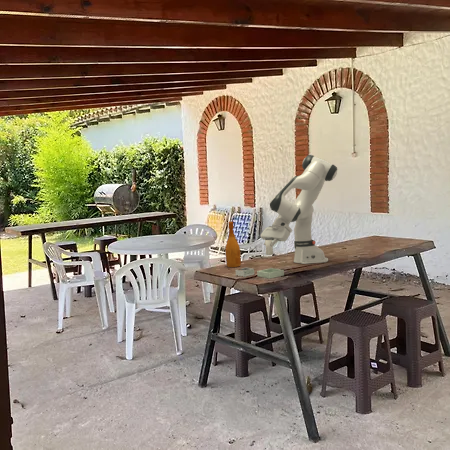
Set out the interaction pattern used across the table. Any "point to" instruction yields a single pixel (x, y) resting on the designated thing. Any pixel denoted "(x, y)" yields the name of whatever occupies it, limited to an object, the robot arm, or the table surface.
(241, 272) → the housing
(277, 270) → the tray
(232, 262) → the wine bottle
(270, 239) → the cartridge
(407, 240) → the table surface
